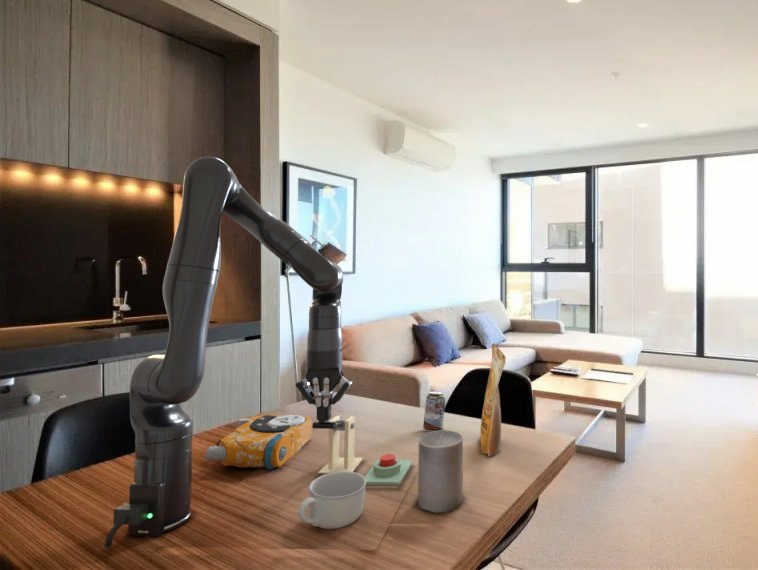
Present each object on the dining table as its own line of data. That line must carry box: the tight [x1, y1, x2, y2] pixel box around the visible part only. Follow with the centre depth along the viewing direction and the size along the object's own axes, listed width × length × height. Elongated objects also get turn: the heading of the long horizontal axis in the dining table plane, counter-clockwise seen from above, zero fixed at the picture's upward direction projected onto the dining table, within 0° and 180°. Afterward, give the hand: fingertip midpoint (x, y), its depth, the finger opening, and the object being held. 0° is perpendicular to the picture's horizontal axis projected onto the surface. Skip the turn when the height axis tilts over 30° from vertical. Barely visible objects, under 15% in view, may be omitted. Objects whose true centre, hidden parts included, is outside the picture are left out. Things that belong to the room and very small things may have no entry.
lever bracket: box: [317, 415, 364, 474], centre depth 115 cm, size 9×8×13 cm
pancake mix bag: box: [479, 343, 507, 457], centre depth 131 cm, size 7×19×28 cm, turn 4°
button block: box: [364, 457, 413, 486], centre depth 111 cm, size 12×9×4 cm
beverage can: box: [422, 390, 446, 432], centre depth 143 cm, size 6×7×12 cm
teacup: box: [297, 471, 367, 530], centre depth 90 cm, size 14×11×8 cm
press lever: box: [311, 419, 347, 432], centre depth 110 cm, size 13×5×2 cm, turn 178°
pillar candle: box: [417, 430, 464, 514], centre depth 99 cm, size 10×10×15 cm
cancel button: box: [379, 453, 396, 467], centre depth 111 cm, size 4×4×2 cm
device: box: [204, 414, 313, 471], centre depth 126 cm, size 23×8×30 cm
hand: (324, 421), depth 105 cm, fingers closed
